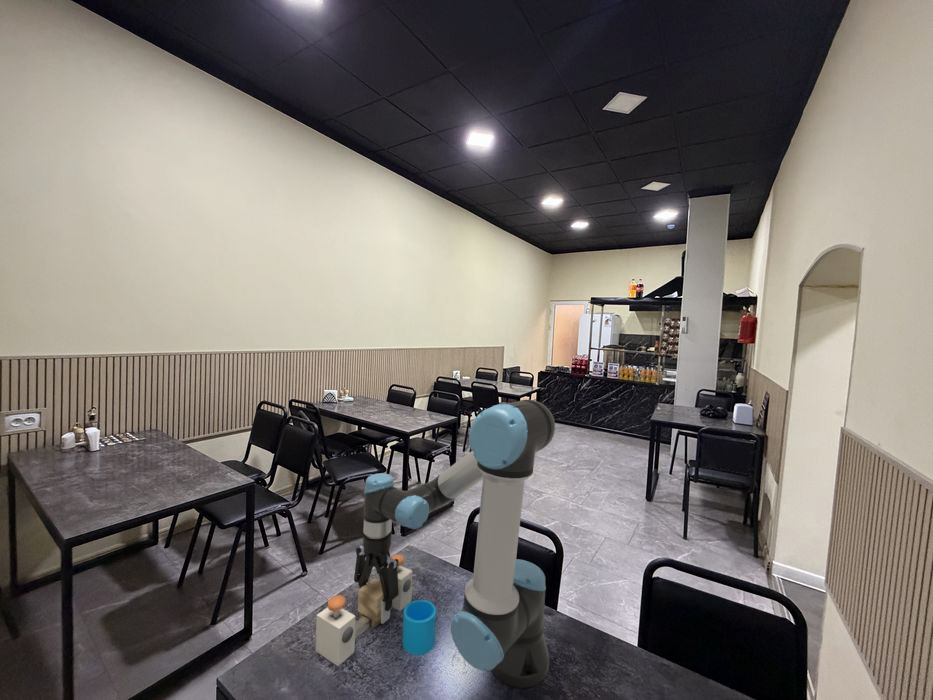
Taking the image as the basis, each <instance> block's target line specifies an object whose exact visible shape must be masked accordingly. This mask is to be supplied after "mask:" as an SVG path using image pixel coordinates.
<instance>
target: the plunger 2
mask: <svg viewBox="0 0 933 700" xmlns="http://www.w3.org/2000/svg"><path fill="white" fill-rule="evenodd" d="M390 557H391V558H392V559H394V560H395V559H398V561H399V562H398V567H397V572H398V573H399V566H403V564H404V561H405V557H404V556H403V555H402V554H392V555H390Z"/></svg>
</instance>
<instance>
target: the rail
mask: <svg viewBox="0 0 933 700" xmlns="http://www.w3.org/2000/svg"><path fill="white" fill-rule="evenodd" d="M392 608H393V600H392ZM371 623H372V619H371V618H369V617H367V616H365V615H364V616H363V617H361V618H360V617H359V619H358V620H356V621H355V640H356V639H358V638H359V637H360V636H361V635H362V634H363V633H364V632H366V631H367V630H368V629H369V628H370V627H372V626H371Z"/></svg>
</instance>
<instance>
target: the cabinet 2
mask: <svg viewBox="0 0 933 700" xmlns="http://www.w3.org/2000/svg"><path fill="white" fill-rule="evenodd" d="M398 590H399V595H398V596H397V597H396V598H394V599H393V607H392V609H395V610H396V611H399V612H401V611H402V610H404V609H405V607H406V606H407V605H408V604H409V603H411V602H412V594H413V593H412V591H413V570H411V569H410V568H409V569H408V568H407V567H404V566H403V565H400V566H399V573H398Z"/></svg>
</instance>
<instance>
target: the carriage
mask: <svg viewBox="0 0 933 700" xmlns="http://www.w3.org/2000/svg"><path fill="white" fill-rule="evenodd" d="M359 588H360V587H359ZM359 588H358V592H357V612H358V613H359V619H360V618H361V617H363V616H364V615H365V616H367V617H369V618H371V619H372V623H371V626H370V627H371V628H376V627H377V626H378V625H379V624H381V600H382V598H383V597H384V595H383V591H382V586H381V582H380V579H377V578H374V577H373V578H372V579H371V580H370V581H368V582H367V583H366V585H364V586H363V587H361V588H360V589H359ZM392 609H393V607H392V608H391V609H390V611H391V610H392Z"/></svg>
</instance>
